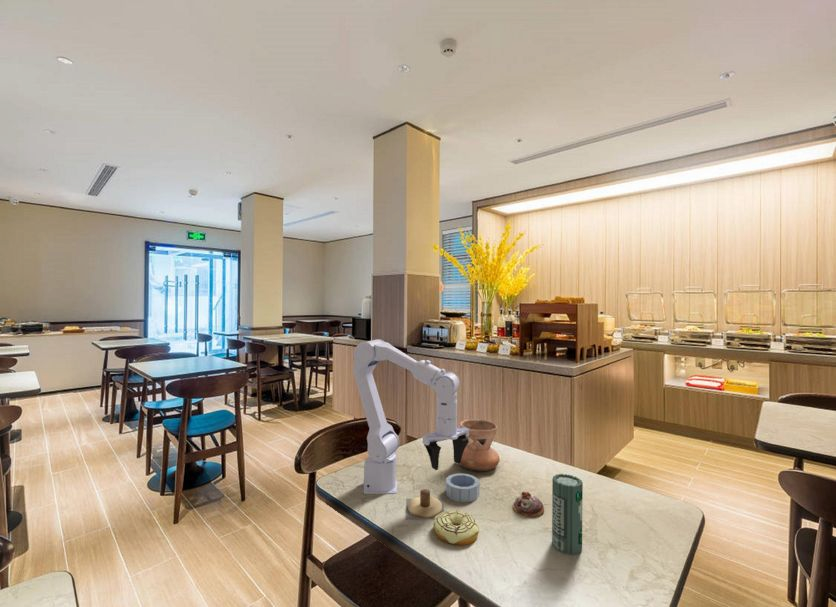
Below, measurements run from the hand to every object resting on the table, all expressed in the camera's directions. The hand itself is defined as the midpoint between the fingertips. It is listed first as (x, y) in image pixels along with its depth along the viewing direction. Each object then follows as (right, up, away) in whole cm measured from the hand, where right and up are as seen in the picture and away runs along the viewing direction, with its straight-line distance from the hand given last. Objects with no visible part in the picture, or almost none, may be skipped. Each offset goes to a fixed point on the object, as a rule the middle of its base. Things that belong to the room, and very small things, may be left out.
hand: (446, 465), depth 107 cm
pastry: (+22, -10, -4) cm, 24 cm away
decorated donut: (+1, -10, -15) cm, 18 cm away
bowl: (+5, -10, +3) cm, 12 cm away
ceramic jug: (+13, -10, +24) cm, 29 cm away
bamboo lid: (-6, -10, -5) cm, 12 cm away
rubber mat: (-6, -10, -5) cm, 12 cm away
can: (+26, -10, -19) cm, 34 cm away
